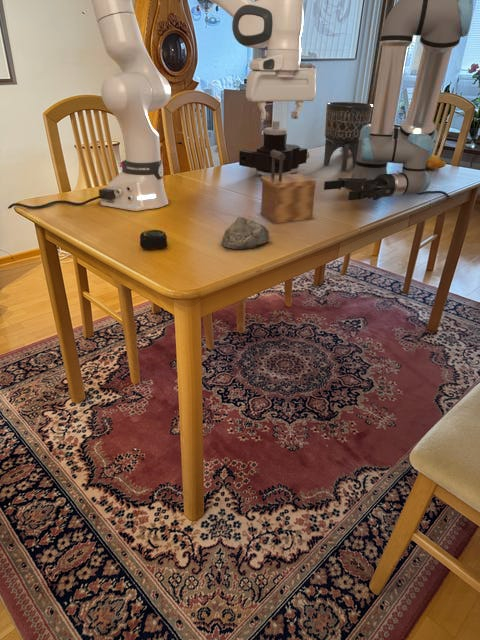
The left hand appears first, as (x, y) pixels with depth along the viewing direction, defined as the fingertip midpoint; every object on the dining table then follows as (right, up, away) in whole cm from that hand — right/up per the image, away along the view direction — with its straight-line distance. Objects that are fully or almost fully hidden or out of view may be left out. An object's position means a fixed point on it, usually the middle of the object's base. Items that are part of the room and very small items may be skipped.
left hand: (279, 119), depth 128 cm
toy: (+78, +14, +84) cm, 116 cm away
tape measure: (-33, -38, -10) cm, 52 cm away
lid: (+3, -15, +10) cm, 18 cm away
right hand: (+20, -15, +18) cm, 31 cm away
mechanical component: (+6, +7, +69) cm, 69 cm away
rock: (-9, -36, -6) cm, 38 cm away
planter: (+36, +14, +83) cm, 91 cm away
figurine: (+46, +31, +111) cm, 124 cm away
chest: (+3, -24, +16) cm, 29 cm away
